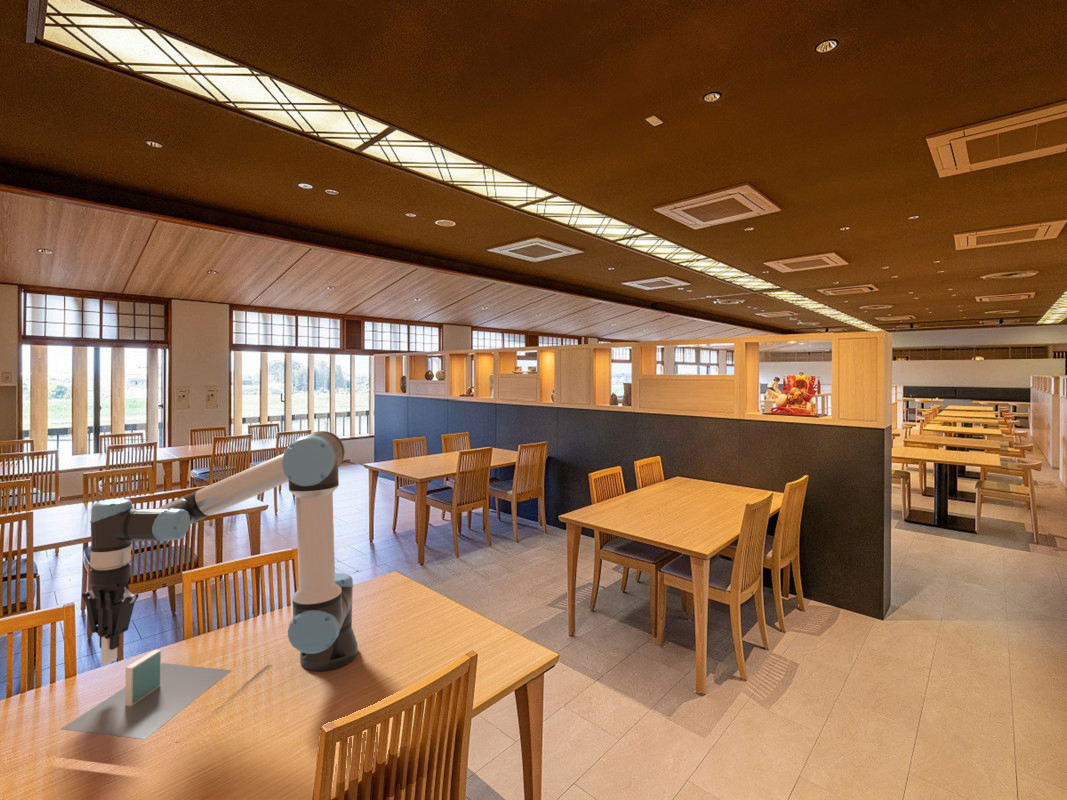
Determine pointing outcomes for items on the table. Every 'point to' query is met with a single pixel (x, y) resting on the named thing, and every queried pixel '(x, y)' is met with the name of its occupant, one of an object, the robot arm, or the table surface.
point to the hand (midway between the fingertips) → (109, 661)
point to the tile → (142, 677)
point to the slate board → (149, 703)
